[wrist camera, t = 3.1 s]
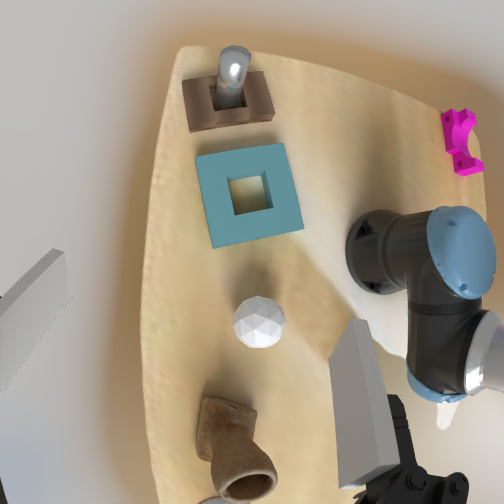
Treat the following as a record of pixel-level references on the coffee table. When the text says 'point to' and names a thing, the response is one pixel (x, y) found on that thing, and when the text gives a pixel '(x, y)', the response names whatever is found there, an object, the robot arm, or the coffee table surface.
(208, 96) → the brown rectangular frame
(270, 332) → the geometric ball
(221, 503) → the candlestick
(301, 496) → the coffee table surface
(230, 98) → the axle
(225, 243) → the seat block
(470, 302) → the robot arm
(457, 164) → the magenta curved bracket
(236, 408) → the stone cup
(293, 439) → the coffee table surface
